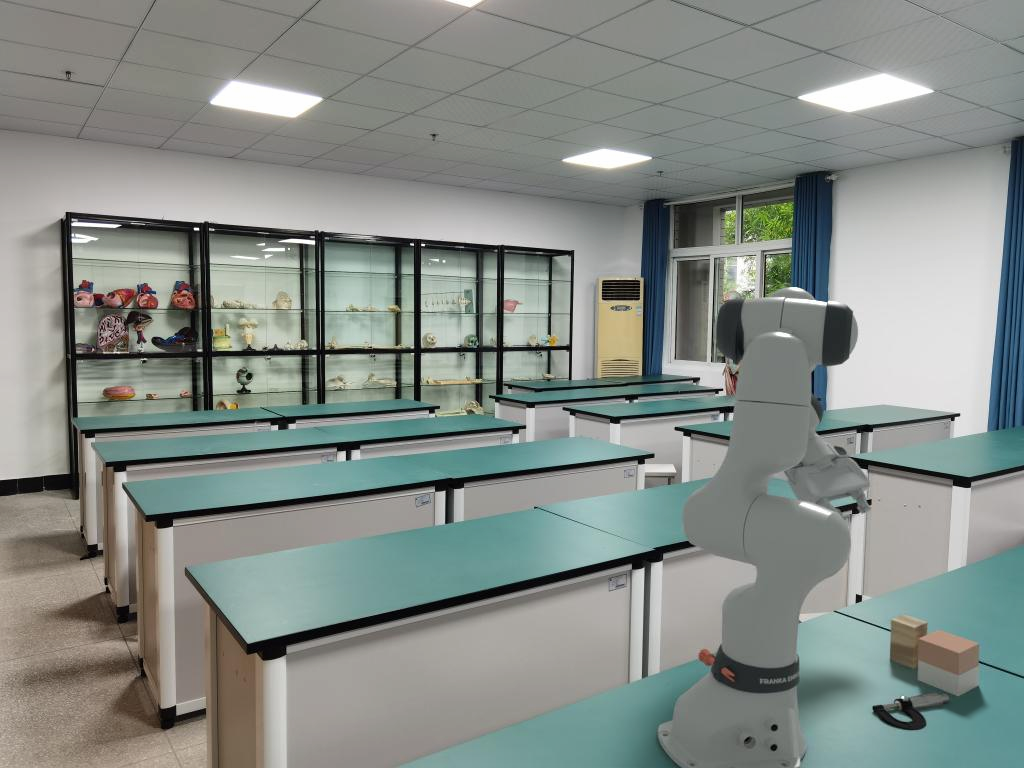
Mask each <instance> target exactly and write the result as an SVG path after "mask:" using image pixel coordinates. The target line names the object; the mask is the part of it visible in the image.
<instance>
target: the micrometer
mask: <svg viewBox="0 0 1024 768" xmlns="http://www.w3.org/2000/svg"><path fill="white" fill-rule="evenodd" d="M949 702H950V697H949V696H948V694H947V693H942V694H940V693H938V692H931V693H928V694H919V695H914V696H913V695H912V696H908V697H907V696H906V695H901V696H900V697H899V698H895V699H894V700H893V703H889V704H887V703H886V704H876V705H872V707H871V709H872V711H873V712H874V713H876V714H877V715H878V717H879V718H880V719H881V720H882V722H884V723H885V724H887V725H888V726H891V727H894V728H897V729H901V730H907V731H919V730H922V729H924V728H925V727H926V725H927V720H926V718H925V716H924V715H923V714H922V713H921V712H920V711H918V710H920V709H921V710H922V709H927V708H933V707H942V706H943V704H944V703H949ZM895 709H898V710H899V711H900V712H904V713H905V714H906V715H908V717H910V718H911V720H910V721H904V720H900V719H897V718H896V717H894V716H893V715H892V714H890V713H889V712H888V710H895Z"/></svg>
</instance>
